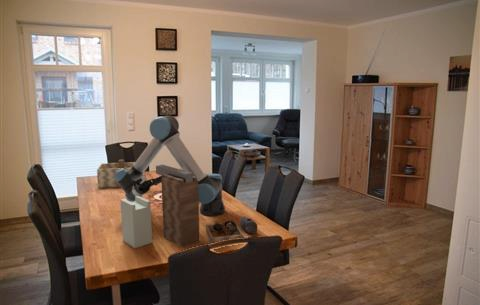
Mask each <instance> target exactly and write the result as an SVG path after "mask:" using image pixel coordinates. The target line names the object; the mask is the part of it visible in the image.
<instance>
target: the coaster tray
mask: <svg viewBox="0 0 480 305" xmlns="http://www.w3.org/2000/svg"><path fill="white" fill-rule="evenodd" d="M213 225H214V224H207V225H205V230H206V234H207V237H208V239H209V242H210V244H211V243H215V242H219V241H223V240H229V239H237V238H243V239H244V234H243V232H242V230H241V229H240V228H239V225H238V224H237V223H236V225H237V232H236V234H234V235H232V236H226V235H225V236H224V235H223V236H214V237H213V236H212V232H214V231H215V230H214V229H213ZM226 226H227V227H229V230H233V229H235V226H234V225H232V223H229V224H227V225H226ZM216 228H218V227H216ZM215 232H216V231H215Z"/></svg>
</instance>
